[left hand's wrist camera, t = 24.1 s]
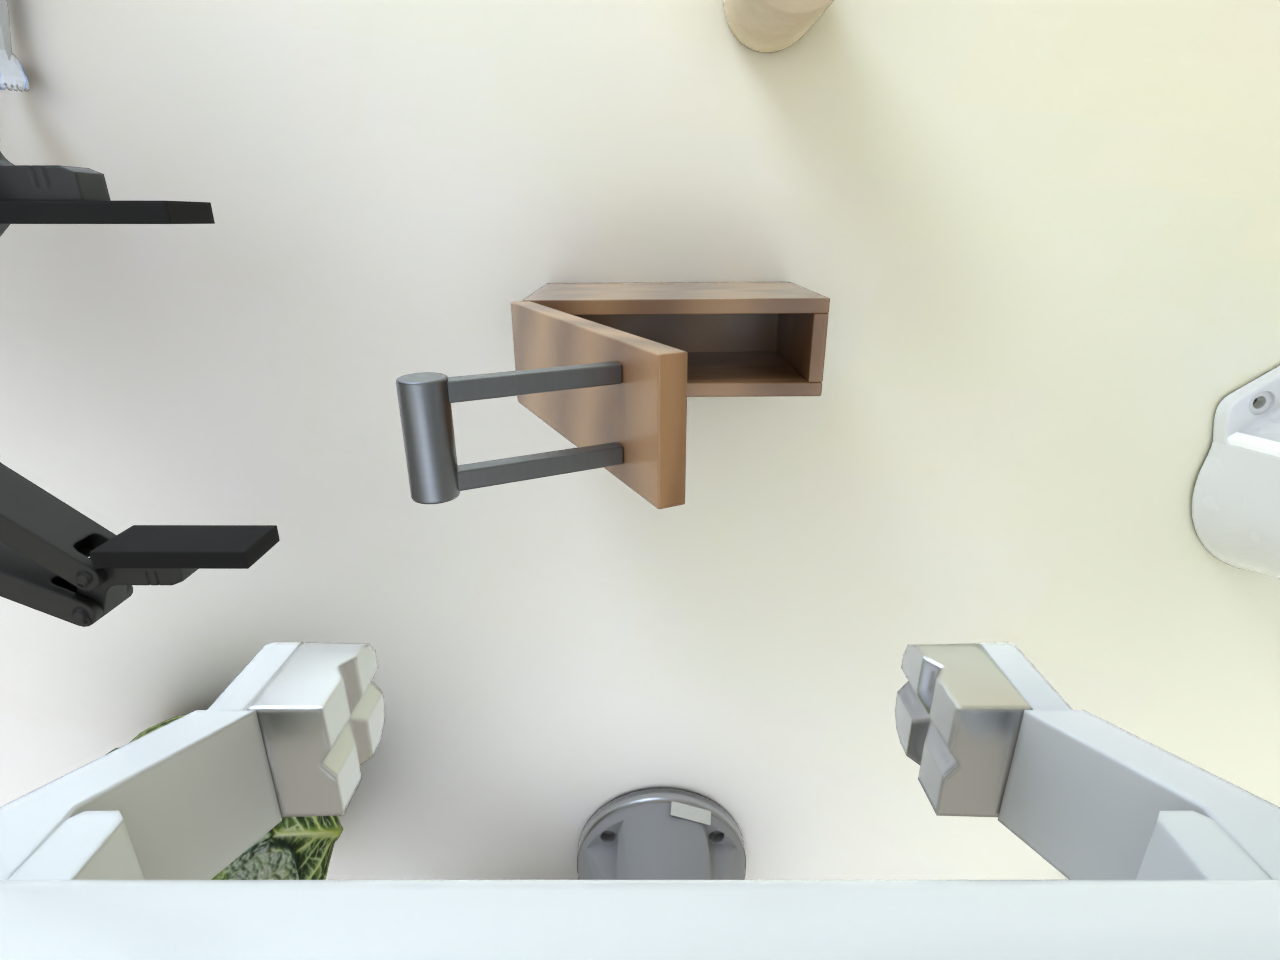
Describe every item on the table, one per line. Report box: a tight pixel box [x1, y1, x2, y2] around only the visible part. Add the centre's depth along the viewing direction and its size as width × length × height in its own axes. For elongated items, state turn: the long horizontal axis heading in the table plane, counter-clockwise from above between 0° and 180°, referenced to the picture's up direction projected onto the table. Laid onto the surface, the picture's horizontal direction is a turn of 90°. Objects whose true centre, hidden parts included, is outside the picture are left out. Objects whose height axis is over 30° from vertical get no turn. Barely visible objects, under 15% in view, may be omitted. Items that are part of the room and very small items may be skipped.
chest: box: [523, 282, 830, 397], centre depth 42 cm, size 16×5×10 cm, turn 90°
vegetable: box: [104, 715, 343, 880], centre depth 52 cm, size 20×19×20 cm
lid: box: [396, 301, 688, 509], centre depth 28 cm, size 17×5×9 cm
